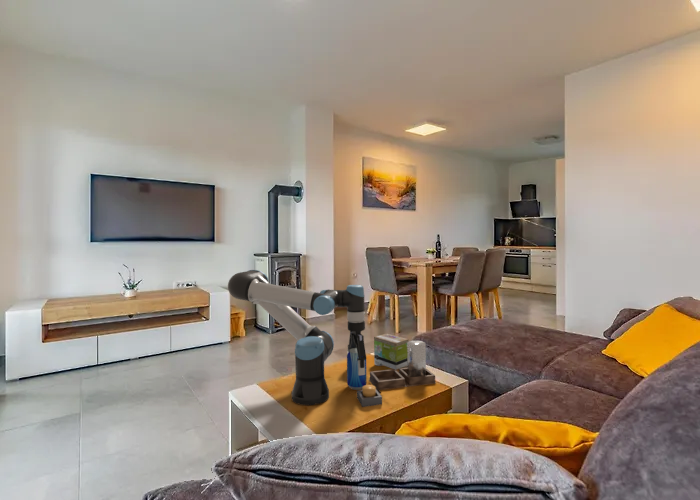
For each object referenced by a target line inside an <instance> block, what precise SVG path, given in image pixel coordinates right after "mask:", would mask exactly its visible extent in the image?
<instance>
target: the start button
mask: <svg viewBox="0 0 700 500" xmlns="http://www.w3.org/2000/svg"><path fill="white" fill-rule="evenodd" d="M362 390H363V396H364V397H366V398H367V397H375V396H376V387H375V386H373V385H372V384H366V385H365V386H363V389H362Z"/></svg>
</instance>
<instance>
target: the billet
mask: <svg viewBox="0 0 700 500" xmlns="http://www.w3.org/2000/svg"><path fill="white" fill-rule="evenodd" d="M408 341H409V342H407V364H408V365H407V368H408V375H409V376H410V377H418V376H426V369H427V367H426V366H427V364H426V361H427V360H426V359H427V357H426V355H427V353H426V351H427V349H426V346H427V345H426V342H425V341H422V340H408Z"/></svg>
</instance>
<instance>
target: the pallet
mask: <svg viewBox="0 0 700 500" xmlns="http://www.w3.org/2000/svg"><path fill="white" fill-rule="evenodd" d="M368 379H369V380H368V381H369V382H370V385H373V386H375V387H376V390H377V391H378V392H379V394H380V395H381V394H382V392H381V391H382V390H385V391H386V390H392V389H401V388H407V387H416V386H423V385H424V386H425V385H434V384H437V382H436V375H435V374H434V373H433V372H431V371H430V370H429V369H428V368H426V376H418V377H410V376H409V375H408V367H402V368H399V369H398V370H395V369H392V368H390V369H385V370H374V371H373V370H372V371H369V378H368Z"/></svg>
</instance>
